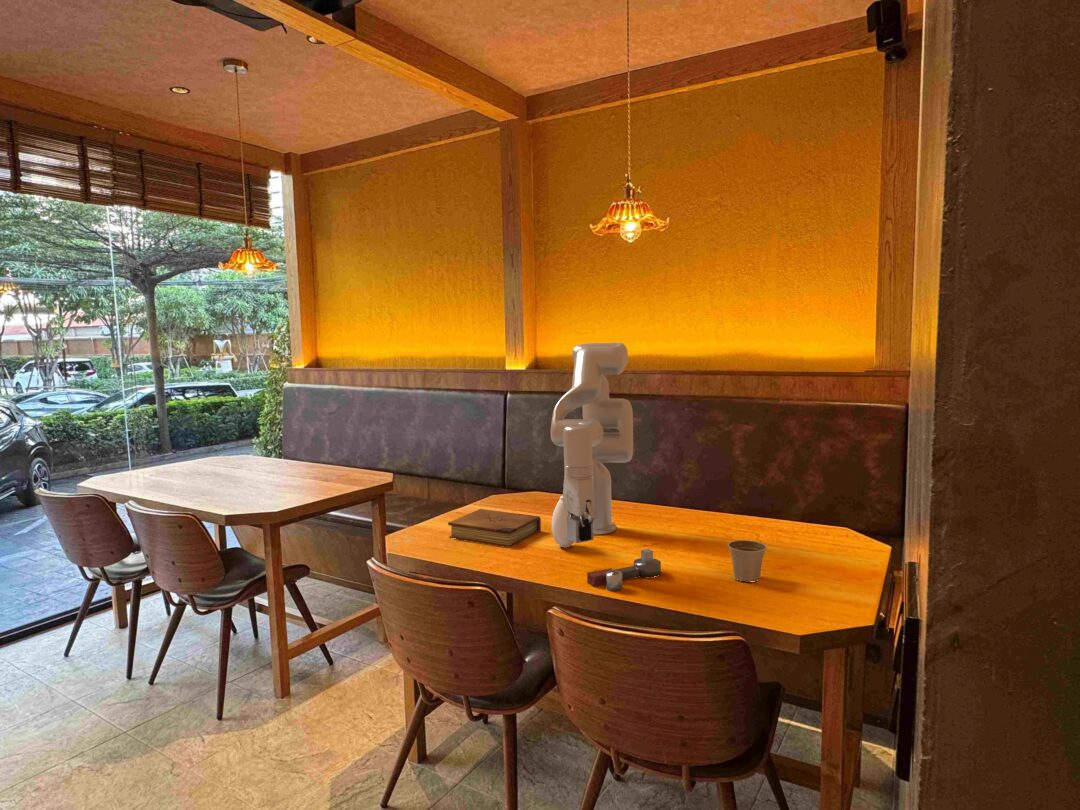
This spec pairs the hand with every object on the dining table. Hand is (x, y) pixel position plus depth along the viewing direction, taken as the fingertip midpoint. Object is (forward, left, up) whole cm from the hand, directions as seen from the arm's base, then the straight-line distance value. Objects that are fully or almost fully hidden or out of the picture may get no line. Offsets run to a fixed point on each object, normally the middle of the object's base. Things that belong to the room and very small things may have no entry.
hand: (580, 536), depth 176 cm
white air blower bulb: (-18, +4, -9) cm, 21 cm away
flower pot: (+27, +33, -9) cm, 44 cm away
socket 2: (+17, 0, -9) cm, 19 cm away
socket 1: (0, 0, -1) cm, 1 cm away
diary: (-40, -10, -10) cm, 42 cm away
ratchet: (+12, +7, -9) cm, 16 cm away
